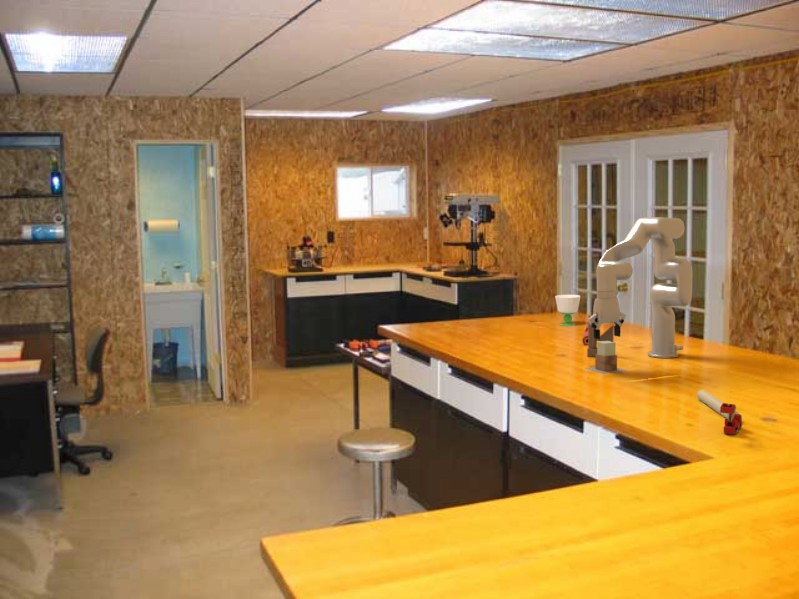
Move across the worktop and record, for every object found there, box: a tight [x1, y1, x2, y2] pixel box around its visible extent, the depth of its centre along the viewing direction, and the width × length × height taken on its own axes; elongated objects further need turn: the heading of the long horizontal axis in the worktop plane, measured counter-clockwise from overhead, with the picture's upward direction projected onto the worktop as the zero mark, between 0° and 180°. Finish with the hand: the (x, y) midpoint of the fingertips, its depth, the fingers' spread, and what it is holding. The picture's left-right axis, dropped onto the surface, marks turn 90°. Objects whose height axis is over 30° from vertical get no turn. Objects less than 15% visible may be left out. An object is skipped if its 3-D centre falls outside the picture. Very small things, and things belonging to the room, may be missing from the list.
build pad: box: [584, 366, 628, 375], centre depth 332 cm, size 12×12×1 cm
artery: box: [582, 323, 588, 346], centre depth 410 cm, size 42×5×5 cm, turn 165°
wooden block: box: [586, 314, 615, 358], centre depth 362 cm, size 4×11×18 cm, turn 67°
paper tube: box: [696, 389, 740, 419], centre depth 268 cm, size 4×30×4 cm, turn 179°
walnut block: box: [594, 354, 618, 372], centre depth 331 cm, size 6×6×6 cm
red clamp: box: [720, 402, 743, 435], centre depth 242 cm, size 3×14×10 cm, turn 145°
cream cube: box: [597, 341, 616, 356], centre depth 331 cm, size 5×5×5 cm
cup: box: [554, 294, 581, 327], centre depth 454 cm, size 14×14×16 cm
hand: (607, 337), depth 331 cm, fingers open, 9 cm apart
